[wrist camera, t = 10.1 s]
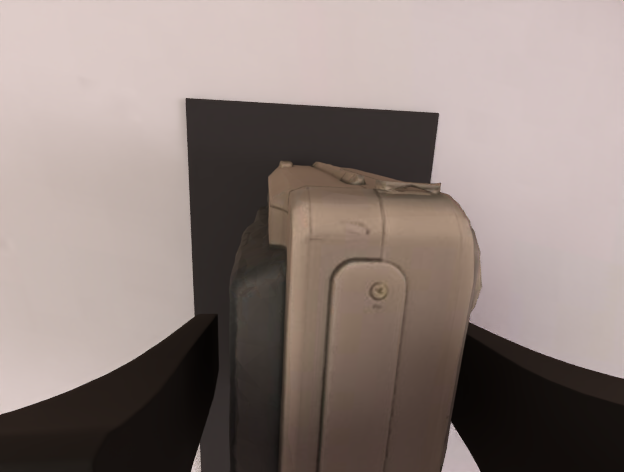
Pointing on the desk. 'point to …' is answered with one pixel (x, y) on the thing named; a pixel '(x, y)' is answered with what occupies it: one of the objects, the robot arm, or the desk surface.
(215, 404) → the desk pad
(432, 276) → the camera
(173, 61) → the desk surface
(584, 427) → the robot arm
